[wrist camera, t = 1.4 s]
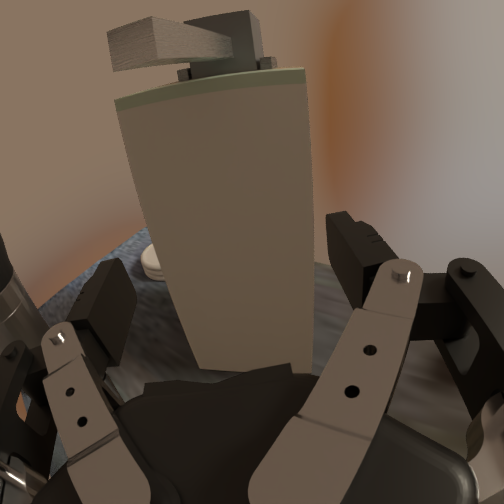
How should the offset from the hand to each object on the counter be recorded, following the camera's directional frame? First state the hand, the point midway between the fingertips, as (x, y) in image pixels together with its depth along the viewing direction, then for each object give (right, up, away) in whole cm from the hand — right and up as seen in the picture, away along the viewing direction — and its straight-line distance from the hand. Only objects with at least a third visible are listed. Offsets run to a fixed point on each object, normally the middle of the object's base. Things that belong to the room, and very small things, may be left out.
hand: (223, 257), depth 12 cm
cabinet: (+2, -10, +31) cm, 33 cm away
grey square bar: (-2, +14, +10) cm, 17 cm away
